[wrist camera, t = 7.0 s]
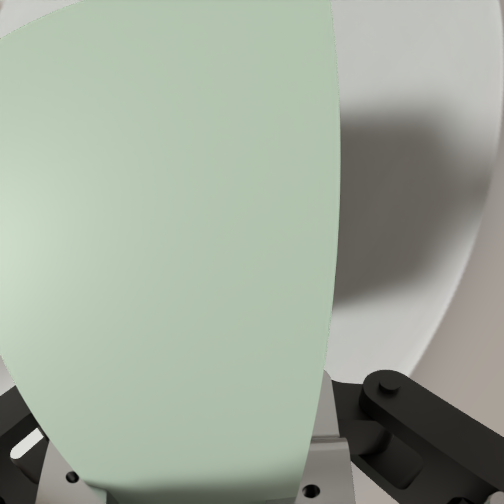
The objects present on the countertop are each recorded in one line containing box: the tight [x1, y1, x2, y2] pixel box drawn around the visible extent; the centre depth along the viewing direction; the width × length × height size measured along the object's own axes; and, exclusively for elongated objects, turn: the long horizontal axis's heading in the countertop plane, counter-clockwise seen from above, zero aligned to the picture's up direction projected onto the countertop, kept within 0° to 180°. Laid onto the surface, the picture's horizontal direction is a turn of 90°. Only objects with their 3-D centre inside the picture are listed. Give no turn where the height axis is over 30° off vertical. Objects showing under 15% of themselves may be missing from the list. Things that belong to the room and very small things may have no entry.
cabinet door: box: [0, 0, 340, 504], centre depth 9 cm, size 14×4×11 cm, turn 1°
